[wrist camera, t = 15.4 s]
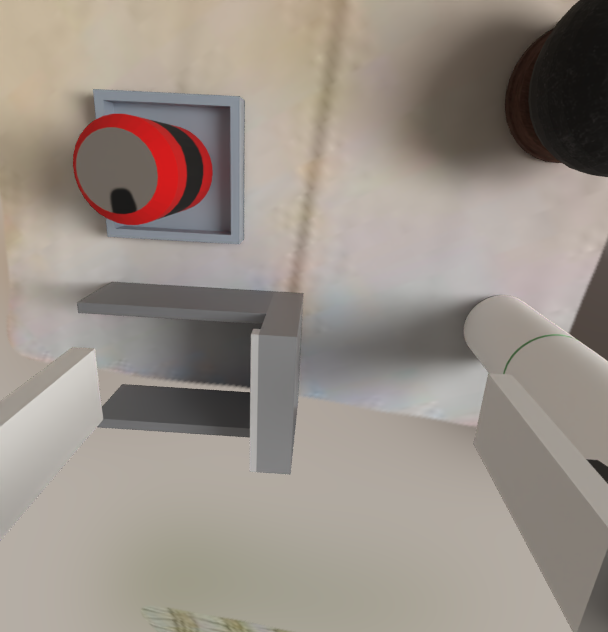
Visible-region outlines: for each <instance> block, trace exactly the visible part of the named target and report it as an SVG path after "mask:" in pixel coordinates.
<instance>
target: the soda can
mask: <svg viewBox="0 0 608 632" xmlns="http://www.w3.org/2000/svg"><path fill="white" fill-rule="evenodd" d="M73 168H74V174H75V179H76V182H77V184H78V187H79V189H80V191H81V193H82V195H83V196H84V198H85V199H86V200H87V202H88V203H89V204H90V206H91V207H93V208H94V209H95V210H96V211H97V212H98V213H99V214H101V215H102V216H104V217H106V218H107V219H109V220H112V221H114V222H116V223H120V224H125V225H140V224H145V223H149V222H152V221H154V220H157V219H160V218H163V217H166V216H169V215H172V214H175V213H178V212H181V211H184V210H187V209H189V208H192V207H194V206H195V205H197V204H198V203H200V202H201V201H202V199H203V198H204V197H205V196H206V194H207V193H208V191H209V189H210V186H211V183H212V176H213V170H212V162H211V158H210V155H209V153H208V151H207V149H206V147H205V146H204V144H203V143H202V142H201V141H200V140H199V139H198V138H197V137H196V136H195V135H194V134H193V133H191V132H190V131H188V130H186V129H184V128H181V127H178V126H174V125H170V124H166V123H161V122H157V121H153V120H149V119H145V118H141V117H137V116H132V115H128V114H110V115H105V116H102V117H100V118H98V119H96V120H94V121H93V122H92V123H90V124H89V125H88V126H87V127H86V128H85V129H84V130H83V132H82V133H81V134H80V136H79V138H78V141H77V143H76V145H75V150H74V154H73Z"/></svg>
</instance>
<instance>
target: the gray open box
mask: <svg viewBox="0 0 608 632" xmlns="http://www.w3.org/2000/svg"><path fill="white" fill-rule="evenodd" d="M77 306H78V313H88V314H105V315H121V316H138V317H154V318H171V319H187V320H204V321H220V322H236V323H253V324H262V327H261V329H253V331H252V333H251V378H250V392H234V391H219V390H204V389H188V388H173V387H171V388H170V387H157V386H142V385H125V384H123V385H121V386H120V388H119V389H118V390H117V391H116V392H115V393H114V394H113V395H112V396H111V397H110V399H109V400H108V401H107V402H106V403H105V404H104V405H103V406H102V413H103V420H102V422H101V423H100V424H99V425H98V426H97V427H102V428H118V429H132V430H147V431H162V432H178V433H192V434H207V435H223V436H238V437H250V472H263V473H278V474H290V473H291V463H292V454H293V444H294V435H295V425H296V415H297V406H298V390H299V370H300V351H301V331H302V312H303V293H290V292H273V291H256V290H239V289H222V288H205V287H188V286H172V285H155V284H138V283H121V282H111V283H110V284H108V285H106V286H104V287H103V288H101V289H99V290H97V291H96V292H94V293H92V294H91V295H89V296H87V297H85V298H84V299H82V300H80V301H78V302H77Z"/></svg>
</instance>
